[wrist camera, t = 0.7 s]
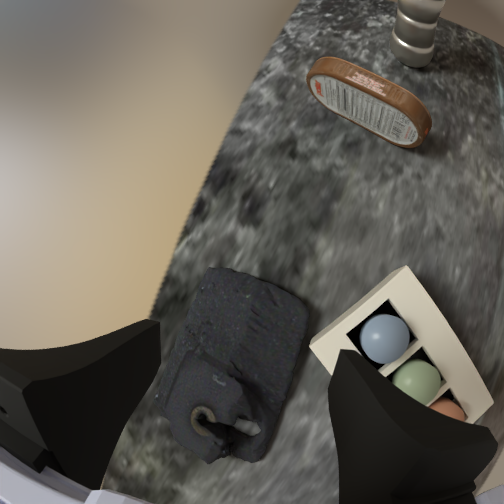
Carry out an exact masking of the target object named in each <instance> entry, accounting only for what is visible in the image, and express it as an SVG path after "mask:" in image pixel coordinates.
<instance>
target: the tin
mask: <svg viewBox="0 0 504 504" xmlns="http://www.w3.org/2000/svg"><path fill="white" fill-rule="evenodd" d="M306 81H307V85H308V87H309V90H310V92H311V94H312V95H313V96H314V97H315V98H316V99H317V100H318V101H319V102H320V103H321V104H322V105H323V106H325V107H326V108H327V109H329V110H331V111H332V112H334V113H336V114H338V115H340V116H342V117H344V118H346V119H348V120H350V121H351V122H353V123H355V124H357V125H359V126H361V127H363V128H364V129H366V130H368V131H370V132H372V133H374V134H375V135H377V136H379V137H381V138H382V139H384V140H386V141H388V142H390V143H392V144H394V145H397V146H400V147H404V148H415V147H417V146H419V145H420V144H421V143H422V142H423V141H424V139H425V137H426V135H427V133H428V132H429V131H430V129H431V127H432V119H431V116H430V113H429V111H428V110H427V108H426V107H425V105H424V104H423V103H422V102H421V101H420V100H419V99H418V98H417V97H416V96H415V95H413V94H412V93H411V92H409V91H408V90H406V89H404V88H402V87H400V86H399V85H397V84H395V83H393V82H391V81H389V80H387V79H385V78H383V77H381V76H379V75H377V74H374V73H372V72H370V71H368V70H366V69H364V68H361V67H359V66H357V65H355V64H352V63H350V62H348V61H345V60H343V59H340V58H335V57H323V58H320V59H318V60H317V61H316V62H315V64H314V66H313V67H312V69H311V70H310V71H309V73H308V74H307V77H306Z"/></svg>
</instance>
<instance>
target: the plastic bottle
mask: <svg viewBox="0 0 504 504" xmlns="http://www.w3.org/2000/svg"><path fill="white" fill-rule="evenodd" d="M445 1H446V0H398V12H397V17H396V21H395V25H394V28H393V31H392V33H391V36H390V49H391V51H392V53H393V54H394V56H395V57H396V58H397V59H398V60H399V61H400V62H402V63H403V64H405V65H407V66H410V67H414V68H421V67H424V66H426V65H428V64H429V63H430V61H431V59H432V58H433V53H434V37H435V30H436V25H437V21H438V18H439V15H440V12H441V10H442V8H443V5H444V3H445Z"/></svg>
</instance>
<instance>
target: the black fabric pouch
mask: <svg viewBox="0 0 504 504" xmlns="http://www.w3.org/2000/svg"><path fill="white" fill-rule="evenodd" d="M309 315H310V314H309V309H308V308H307V306H306V305H305V304H304V303H303V302H302V301H301V300H300V299H299V298H297V297H296V296H293V295H291V294H289V293H288V292H286V291H284V290H281V289H280V288H278V287H277V286H276V285H272V284H270V283H268V282H264V281H260V280H258V279H257V278H255V277H253V276H251V275H248V274H244V273H240V272H233V271H232V270H231V269H229V268H222V267H220V268H210V267H209V268H208V269H207V271H206V273H205V275H204V278H203V280H202V281H201V283H200V286H199V289H198V293H197V296H196V299H195V301H193V303H192V305H191V308H190V309H189V311H188V314H187V317H186V319H185V321H184V323H183V325H182V327H181V329H180V331H179V334H178V337H177V338H176V342H175V347H174V348H173V349H172V351H171V356H170V358H169V360H168V363H167V366H166V369H165V371H164V374H163V378H162V380H161V382H160V385H159V387H158V389H157V393H156V396H155V398H154V400H153V402H154V403H155V405H156V406H158V407H159V409H160V410H161V416H163V417H165V418H167V419H168V420H169V421H170V430H171V432H172V434H173V439H174V440H175V441H176V442H177V443H178V444H180V445H181V446H183V447H185V448H187V449H189V450H191V451H193V452H194V453H196V454H197V455H198V456H199V457H200V458H201V459H202V460H204V461H205V462H206V463H207V464H210V463H212V462H214V461H215V460H217V459H219V458H221V457H222V458H225V457H226V456H228V455H230V452H232V453H233V455H234V456H235V457H236V458H241V459H243V460H244V461H249V462H251V463H254V462H256V461H258V460H259V459H261V455H262V454H263V453H264V452H265V450H266V448H267V444H268V442H269V438H270V437H271V435H272V433H273V430H274V427H275V425H276V422H277V418H278V416H279V413H280V411H281V409H280V407H281V406H282V404H283V400H285V399H286V394H287V392H288V390H289V388H290V385H291V382H292V379H293V373H294V372H293V369H294V367H295V366H296V361H297V357H298V355H299V352H300V346H301V342H302V340H303V338H304V336H305V335H306V332H307V330H308V319H309ZM238 417H239V418H240V419H244V420H249V421H253V422H257V424H258V426H259V428H260V429H261V431H260V432H259V433H258V434H256V435H254V436H249V435H246V434H244V433H241V432H239V431H237V430H236V429H235V428H234V427H232V426H225V424H229V425H235V423H236V420H237V418H238ZM229 448H230V449H229ZM229 450H230V451H229Z"/></svg>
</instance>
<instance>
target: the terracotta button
mask: <svg viewBox="0 0 504 504" xmlns="http://www.w3.org/2000/svg"><path fill="white" fill-rule="evenodd" d="M428 407H429V408H431V409H434V410H436V411H438V412H440V413H442V414H444V415H447V416H449V417H452V418H455V419H458V420H460V421H463V422H464V412H463V411H462V409H461V408H460V407H458V406H457V405H456V404H455V403H454V402H452V401H451V400H450V399H449V398H446V397H439V398H437V399H436V400H435V401H434V402H433V403H432V404H430V405H429V406H428Z"/></svg>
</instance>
